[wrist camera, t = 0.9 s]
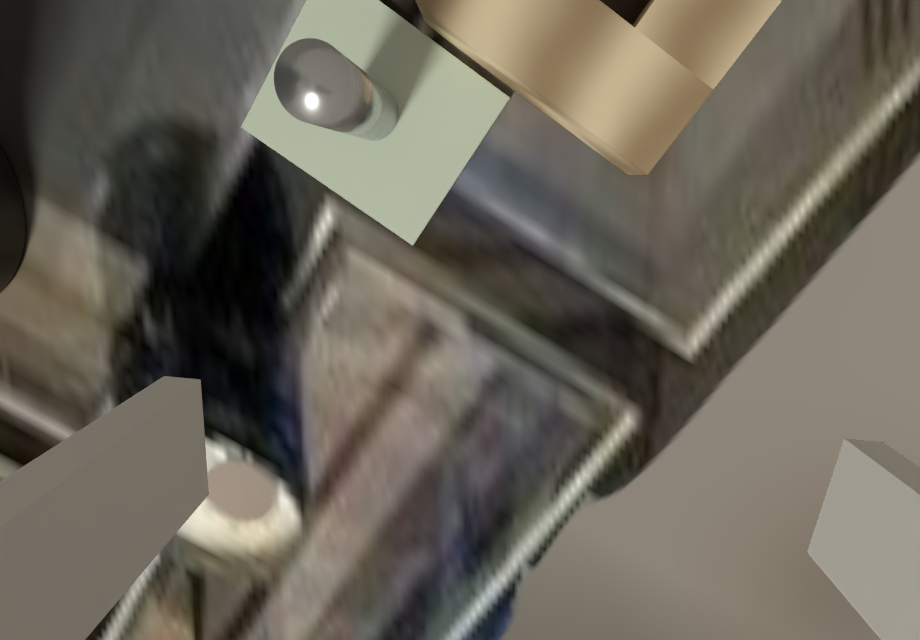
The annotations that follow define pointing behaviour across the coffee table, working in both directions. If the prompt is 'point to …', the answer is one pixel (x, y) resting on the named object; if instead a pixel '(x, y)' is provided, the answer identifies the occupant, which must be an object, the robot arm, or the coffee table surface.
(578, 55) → the hole block
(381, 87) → the pin
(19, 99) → the coffee table surface
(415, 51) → the mat
